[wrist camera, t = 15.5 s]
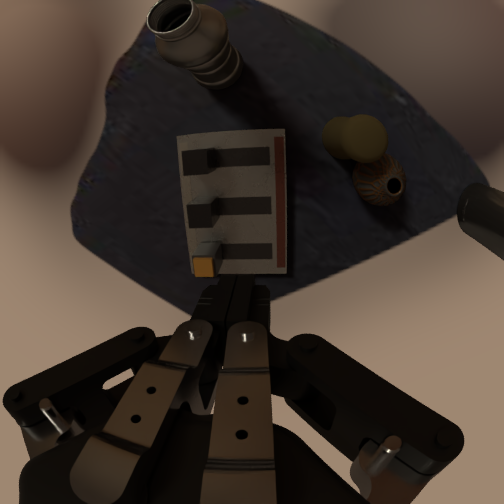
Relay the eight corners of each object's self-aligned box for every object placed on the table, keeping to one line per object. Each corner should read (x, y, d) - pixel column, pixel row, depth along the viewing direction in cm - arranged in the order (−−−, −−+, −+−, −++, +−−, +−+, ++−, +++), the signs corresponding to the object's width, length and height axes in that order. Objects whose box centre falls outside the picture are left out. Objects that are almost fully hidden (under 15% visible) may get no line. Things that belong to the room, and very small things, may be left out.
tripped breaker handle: (220, 242, 39) (213, 257, 34) (222, 262, 40) (215, 278, 35) (200, 242, 39) (190, 257, 34) (202, 262, 40) (193, 278, 36)
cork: (368, 155, 34) (401, 163, 24) (327, 163, 36) (347, 174, 25) (358, 113, 32) (388, 105, 22) (316, 120, 33) (333, 114, 23)
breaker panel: (284, 129, 34) (286, 127, 28) (286, 267, 42) (287, 289, 36) (181, 136, 36) (164, 136, 30) (195, 267, 43) (183, 288, 37)
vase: (366, 208, 37) (388, 227, 29) (337, 171, 36) (354, 181, 28) (400, 179, 35) (429, 191, 27) (373, 141, 34) (399, 143, 26)
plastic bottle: (188, 78, 32) (112, 36, 14) (218, 41, 30) (167, -29, 11) (224, 101, 33) (172, 67, 15) (255, 64, 31) (235, -3, 13)
